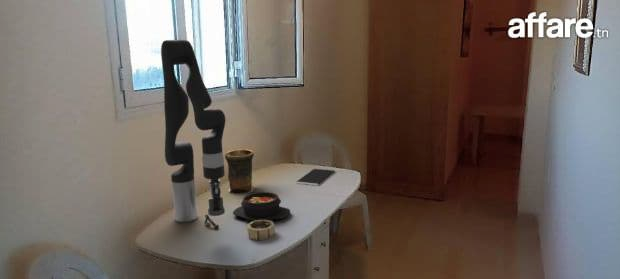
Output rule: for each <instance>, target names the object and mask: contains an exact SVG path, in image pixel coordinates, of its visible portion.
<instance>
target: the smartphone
mask: <svg viewBox="0 0 620 279" xmlns="http://www.w3.org/2000/svg"><path fill="white" fill-rule="evenodd" d="M335 173H336V170H334V169H333V170H332V169H322V168H313V169H311V170H310V171H309V172H307V173H306V174H305V175H303V176H302V177H301V178H299V179H298V180H296V181H295V185H301V186H303V185H304V186H310V187H311V186H314V187H319V186H321V185H322V184H323V183H324V182H326V181H327V180H328V179H329V178H330V177H331V176H333V175H334V174H335Z"/></svg>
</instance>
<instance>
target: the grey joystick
mask: <svg viewBox="0 0 620 279" xmlns="http://www.w3.org/2000/svg"><path fill="white" fill-rule="evenodd" d="M215 198H217V197H215ZM223 198H224V197H223V196H222V195H220V201H219V202H220V210H216V211H215V210H214V206H213V200H212V199H213V197H212V196H210V197H208V210H207V211H208V212H207V213H208V214H207V215H208V216H209V217H210V216H211V217H218V216H219V217H220V216H223V215H224V214H225V212H226V211H225V210H226V209H225V207H224V199H223Z"/></svg>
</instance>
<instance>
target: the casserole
mask: <svg viewBox="0 0 620 279" xmlns="http://www.w3.org/2000/svg"><path fill="white" fill-rule="evenodd" d="M281 203H282V200H281V199H280V197H279V195H278V194H276V193H274V192H269V191H268V192H267V191H261V192H260V191H259V192H253V193H252V192H251V193H248V194H246V195H245V196H243V198H242V201H241V203H240V205H241V206H239V207H236V208H235V209H234V210H233V211H232V215H233V216H236V217H241V218H243V219H245V220H249V221H256V220H269V221H270V220H279V219H284V218H286V217H288V216H289V215H290V214H291V209H290V208H288V207H282V206H280V204H281Z"/></svg>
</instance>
